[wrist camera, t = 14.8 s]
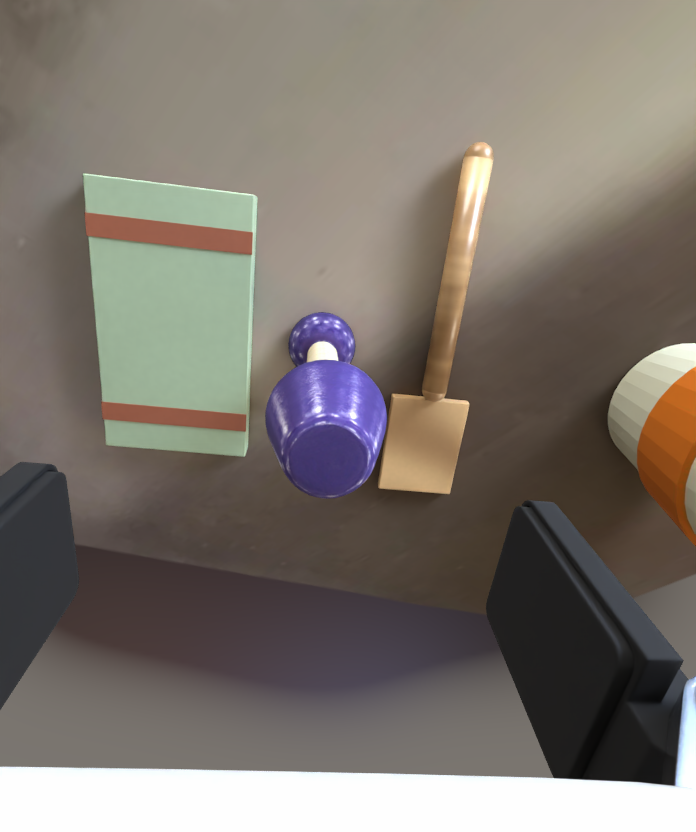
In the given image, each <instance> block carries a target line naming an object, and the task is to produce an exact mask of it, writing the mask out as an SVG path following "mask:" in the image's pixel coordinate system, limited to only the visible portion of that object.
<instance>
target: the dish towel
mask: <svg viewBox="0 0 696 832" xmlns="http://www.w3.org/2000/svg"><path fill="white" fill-rule="evenodd" d="M83 184H84V195H85V207H86V212H85V223H86V235H87V236H88V241H89V253H90V264H91V276H92V287H93V299H94V310H95V322H96V333H97V345H98V356H99V368H100V379H101V391H102V402H101V405H102V416H103V419H104V425H105V437H106V445H109V446H121V447H134V448H146V449H158V450H170V451H182V452H194V453H206V454H218V455H230V456H242V457H244V456H245V454H246V451H247V449H248V432H249V405H250V378H251V352H252V325H253V298H254V271H255V245H256V218H257V196H255V195H251V194H243V193H235V192H227V191H219V190H211V189H203V188H195V187H187V186H179V185H171V184H163V183H155V182H147V181H139V180H132V179H124V178H116V177H108V176H100V175H92V174H83Z"/></svg>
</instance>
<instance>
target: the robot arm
mask: <svg viewBox="0 0 696 832" xmlns="http://www.w3.org/2000/svg"><path fill="white" fill-rule="evenodd" d="M78 584H79V576H78V567H77V559H76V551H75V544H74V536H73V528H72V520H71V512H70V505H69V497H68V489H67V481H66V477H65V475H64V474H63V473H62V472H58V471H57V469H56V467H55V466H54V465H52V464H40V463H27V462H20V463H18V464H16V465H15V466H13V467H12V468H11V469H10V470H8V471H7V472H6V473H5V474H3V475H2V476H1V477H0V709H1V708H2V707H3V705H4V703H5V702H6V700H7V699H8V697H9V696H10V694H11V693H12V691H13V690H14V688H15V687H16V685H17V684H18V682H19V681H20V679H21V678H22V676H23V675H24V673H25V671H26V670H27V668H28V667H29V665H30V664H31V662H32V661H33V659H34V658H35V656H36V655H37V653H38V652H39V650H40V649H41V647H42V646H43V644H44V643H45V641H46V639H47V638H48V636H49V635H50V633H51V632H52V630H53V629H54V627H55V626H56V624H57V623H58V621H59V620H60V618H61V617H62V615H63V614H64V612H65V611H66V609H67V608H68V606H69V604H70V603H71V601H72V600H73V598H74V596H75V594H76V592H77V589H78ZM486 612H487V617H488V620H489V622H490V625H491V627H492V630H493V632H494V635H495V637H496V639H497V642H498V644H499V647H500V649H501V652H502V654H503V656H504V659H505V661H506V664H507V666H508V668H509V671H510V673H511V676H512V678H513V681H514V683H515V685H516V688H517V690H518V693H519V695H520V698H521V700H522V703H523V705H524V707H525V710H526V712H527V715H528V717H529V720H530V722H531V724H532V727H533V729H534V732H535V734H536V737H537V739H538V741H539V744H540V746H541V749H542V751H543V754H544V756H545V758H546V761H547V763H548V766H549V768H550V770H551V773H552V775H553V777H554V778H532V777H531V778H530V777H495V776H494V777H493V776H456V775H454V776H453V775H419V774H416V775H415V774H380V773H336V772H335V773H333V772H289V771H238V770H188V769H187V770H186V769H125V768H123V769H122V768H119V769H118V768H56V767H52V768H51V767H0V832H696V676H695V677H693V678H691V679H690V680H688V678H687V677H686V676H685V675H684V673H683V672H682V671H681V670H680V667H681V665H682V663H683V659H682V658H681V657H680V656H679V655H678V653H677V652H676V651H675V650H674V648H673V647H672V646H671V645H670V644H669V642H668V641H667V640H666V639H665V638H664V636H663V635H662V634H661V632H660V631H659V630H658V629H657V628H656V626H655V625H654V624H653V623H652V621H651V620H650V619H649V618H648V616H647V615H646V614H645V613H644V612H643V610H642V609H641V608H640V607H639V605H638V604H637V603H636V602H635V601H634V599H633V598H632V597H631V596H630V594H629V593H628V592H627V591H626V589H625V588H624V587H623V586H622V585H621V583H620V582H619V581H618V580H617V578H616V577H615V576H614V575H613V574H612V572H611V571H610V570H609V569H608V567H607V566H606V565H605V564H604V562H603V561H602V560H601V559H600V558H599V556H598V555H597V554H596V553H595V551H594V550H593V549H592V548H591V547H590V545H589V544H588V543H587V542H586V540H585V539H584V538H583V537H582V535H581V534H580V533H579V532H578V531H577V529H576V528H575V527H574V526H573V524H572V523H571V522H570V521H569V520H568V518H567V517H566V516H565V515H564V513H563V512H562V511H561V510H560V509H559V507H558V506H557V505H556V504H555V503H553V502H543V501H530V500H527V501H525V502H524V503H523V504H522V506H518V507H516V508H515V509H514V512H513V515H512V518H511V521H510V525H509V528H508V531H507V535H506V538H505V542H504V545H503V548H502V552H501V555H500V558H499V562H498V565H497V568H496V572H495V575H494V578H493V582H492V585H491V589H490V592H489V595H488V599H487V603H486Z"/></svg>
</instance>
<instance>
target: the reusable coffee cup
mask: <svg viewBox="0 0 696 832" xmlns="http://www.w3.org/2000/svg"><path fill="white" fill-rule="evenodd" d="M608 428H609V432H610V436H611V438H612V440H613V442H614V444H615V445H616V446H617V447H618V449H619V450H620V451H621V452H622V453H623V454H624V455H625V456H626V457H627V459H628V460H629V461H630V462H631V463H632V464H633V465H634V466H635V467H636V469H637V470H638V471H639V475H640V479H641V481H642V483H643V484H644V486H645V488H646V490H647V491H648V492H649V494H650V495H651V496H652V497H653V498H654V499H655V501H656V502H657V503H658V504H659V505H660V506H661V507H662V509H663V510H664V511H665V512H666V513H667V514H668V516H669V517H670V518H671V519H672V520H673V521H674V522H675V524H676V525H677V526H678V527H679V528H680V529H681V530H682V532H683V533H684V534H685V535H686V536H687V537H688V538H689V540H690V541H691V542H692V543H693V544H694V545H695V546H696V344H695V343H689V344H678V345H673V346H669V347H666V348H663V349H661V350H658V351H656V352H654V353H652V354H651V355H649V356H647V357H646V358H644V359H642V360H641V361H640V362H639V363H638V364H636V365H635V366H634V367H633V368H632V369H631V370H630V371H629V372H628V373H627V374H626V375H625V377H624V378H623V379H622V380H621V382H620V384H619V385H618V387H617V388H616V390H615V392H614V394H613V397H612V399H611V402H610V406H609V411H608Z"/></svg>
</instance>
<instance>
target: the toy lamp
mask: <svg viewBox="0 0 696 832" xmlns="http://www.w3.org/2000/svg"><path fill="white" fill-rule="evenodd" d="M288 345H289V353H290V356H291V359H292V361H293V362H294V364H295V365H296V368H294V369H293V370H291V371H290V372H288V373H287V374H286V375H285V376H284V377H283V378H282V379H281V380H280V381H279V382H278V383H277V385H276V386H275V387H274V389H273V391H272V393H271V395H270V397H269V400H268V403H267V407H266V415H265V417H266V428H267V433H268V437H269V439H270V442H271V444H272V447H273V449H274V452H275V454H276V456H277V459H278V461H279V463H280V465H281V467H282V469H283V471H284V473H285V475H286V476H287V477H288V479H289V480H290V481H291V483H292V484H293V485H295V486H296V487H297V488H298V489H300V490H301V491H303V492H305V493H306V494H308V495H311V496H314V497H319V498H337V497H341V496H344V495H347V494H349V493H351V492H353V491H354V490H356V489H357V488H359V487H360V486H361V485H362V484H363V483H364V482H365V481H366V480H367V478H368V477H369V476H370V474H371V472H372V471H373V468H374V466H375V463H376V460H377V458H378V455H379V451H380V448H381V445H382V442H383V438H384V435H385V430H386V425H387V413H386V407H385V402H384V399H383V396H382V394H381V392H380V390H379V389H378V387H377V386H376V384H375V383H374V382H373V380H372V379H371V378H370V377H369V376H368V375H367V374H366V373H364V372H363V371H362V370H360V369H359V368H357V367H355V366H353V365H350V362H351V361H352V359H353V356H354V352H355V340H354V336H353V333H352V331H351V329H350V327H349V326H348V325H347V323H346V322H345V321H343V320H342V319H341V318H339V317H337V316H335V315H333V314H330V313H324V312H322V313H320V312H319V313H314V314H311V315H308V316H306V317H304V318H302V319H301V320H300V321H299V322H298V323H297V324H296V325H295V327H294V328H293V330H292V332H291V334H290V338H289V344H288Z"/></svg>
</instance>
